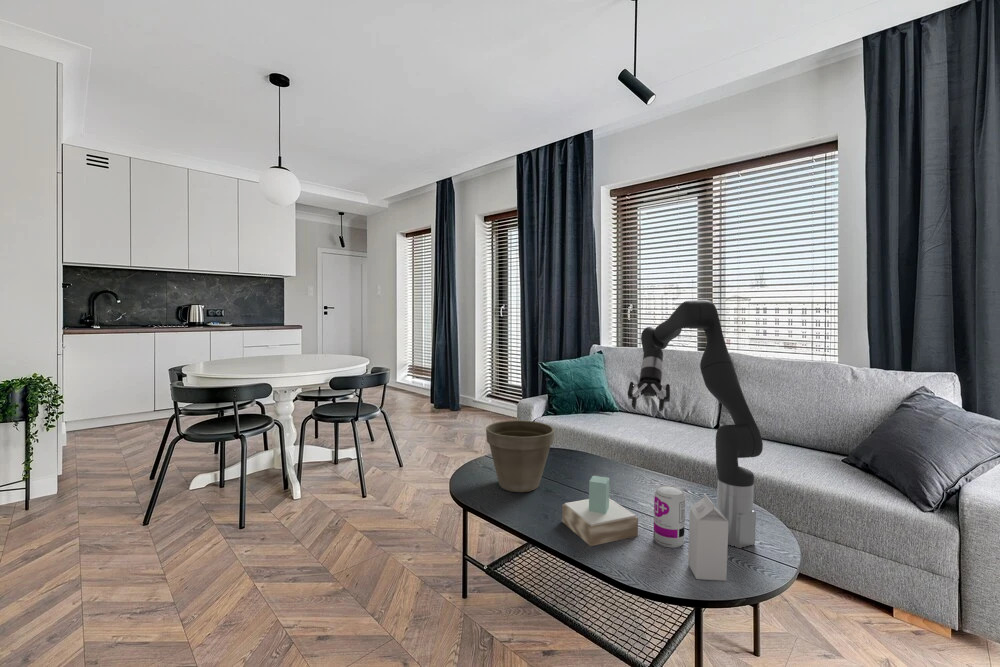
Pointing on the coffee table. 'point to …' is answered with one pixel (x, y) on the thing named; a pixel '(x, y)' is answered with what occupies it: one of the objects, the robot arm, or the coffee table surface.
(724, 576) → the milk carton
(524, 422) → the plant pot
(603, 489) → the carton
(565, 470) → the coffee table surface
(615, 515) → the podium
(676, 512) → the supplement can
